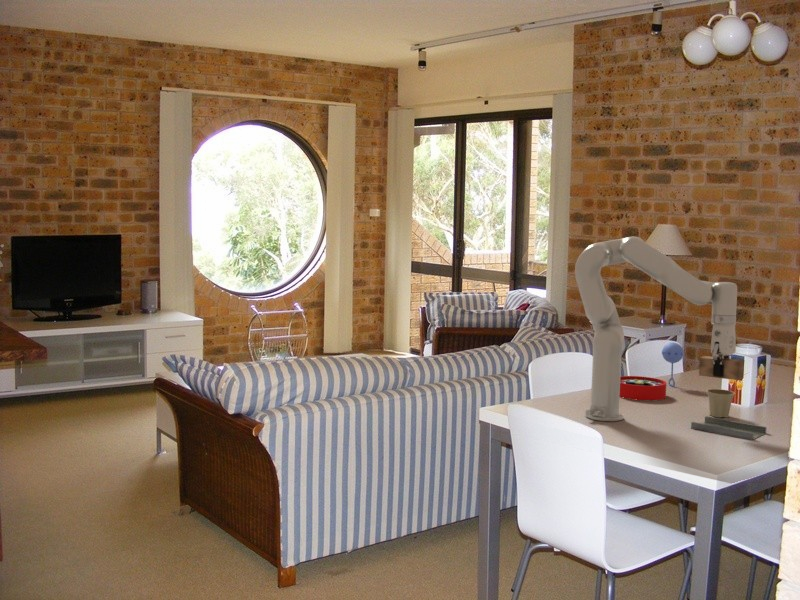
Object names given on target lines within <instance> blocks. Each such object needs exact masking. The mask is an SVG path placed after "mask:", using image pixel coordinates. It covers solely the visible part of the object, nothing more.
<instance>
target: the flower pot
mask: <svg viewBox="0 0 800 600" xmlns="http://www.w3.org/2000/svg"><path fill="white" fill-rule="evenodd" d="M706 393H707V397H708V408H709V415H710V416H712V417H713V418H722V417H723V418H728V417H729V415H730V414H729V413H730V411H731V406H732V401H733V399H734V396H735V394H736V393H735V391H732V390H728V389H718V388H711V389H707V390H706Z"/></svg>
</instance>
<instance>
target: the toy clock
mask: <svg viewBox="0 0 800 600" xmlns="http://www.w3.org/2000/svg"><path fill="white" fill-rule="evenodd" d="M666 394H667V381H666V380H663V379H660V378H654V377H650V376H649V377H648V376H641V375H640V376H637V375H623V376H622V375H621V379H620V397H624V398H623V399H625V398H630V399H637V400H636V401H640V400H657V401H661V400H662V401H663V400H664V399H666V398H667V397H666V396H667V395H666ZM630 399H629V400H630Z"/></svg>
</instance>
